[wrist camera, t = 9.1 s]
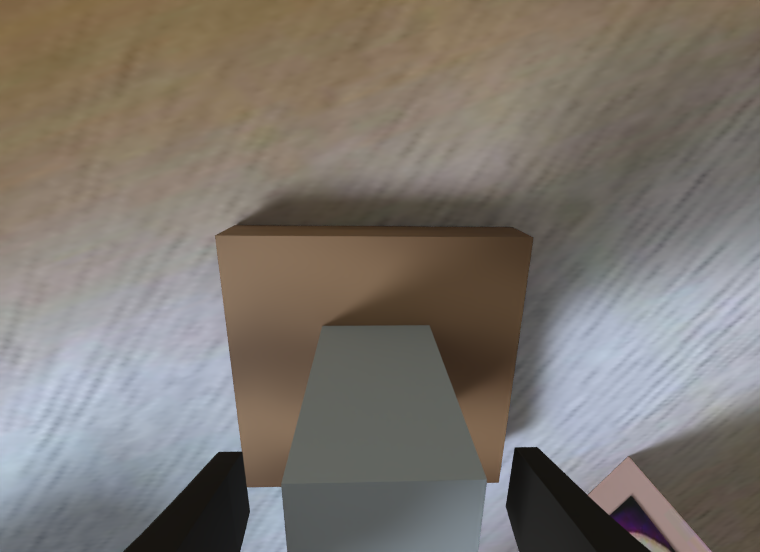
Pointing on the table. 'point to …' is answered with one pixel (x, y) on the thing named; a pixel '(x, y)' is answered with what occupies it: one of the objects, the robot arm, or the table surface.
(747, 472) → the table surface
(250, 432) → the walnut base
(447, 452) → the slate block
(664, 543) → the greeting card
